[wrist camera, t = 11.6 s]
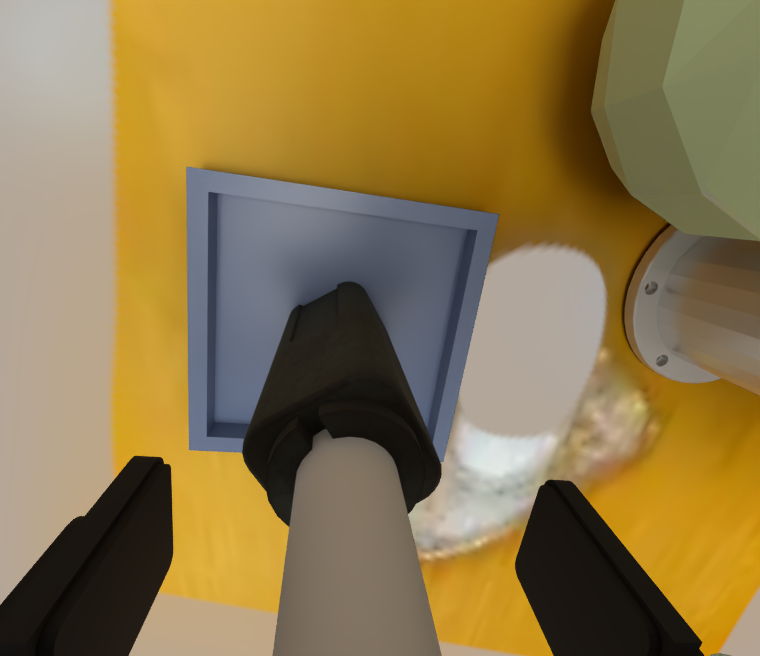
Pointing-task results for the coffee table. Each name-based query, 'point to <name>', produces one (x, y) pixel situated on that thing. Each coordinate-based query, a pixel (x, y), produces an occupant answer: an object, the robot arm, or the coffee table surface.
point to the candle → (344, 483)
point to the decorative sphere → (684, 110)
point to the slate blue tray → (322, 289)
